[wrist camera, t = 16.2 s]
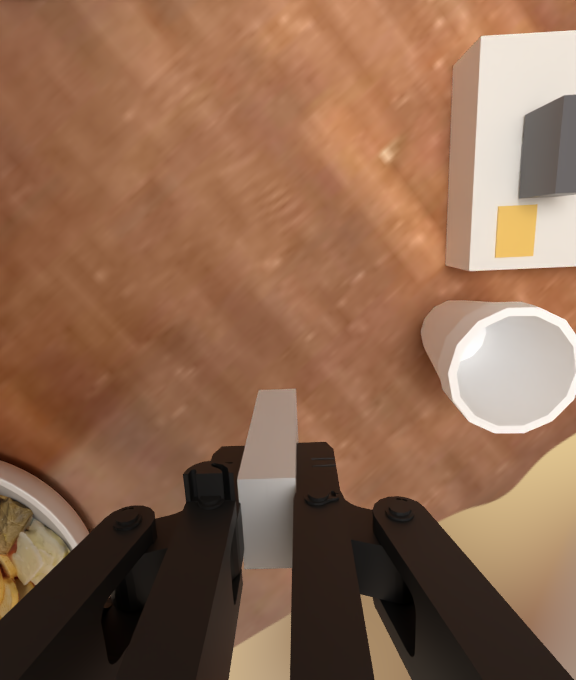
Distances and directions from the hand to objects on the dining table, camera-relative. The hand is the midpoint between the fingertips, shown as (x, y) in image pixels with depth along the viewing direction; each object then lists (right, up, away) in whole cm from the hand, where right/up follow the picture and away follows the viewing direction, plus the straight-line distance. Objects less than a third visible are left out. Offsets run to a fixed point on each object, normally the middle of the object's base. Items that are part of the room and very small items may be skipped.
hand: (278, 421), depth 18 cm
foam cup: (+17, +4, +26) cm, 31 cm away
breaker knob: (+20, +17, +16) cm, 31 cm away
